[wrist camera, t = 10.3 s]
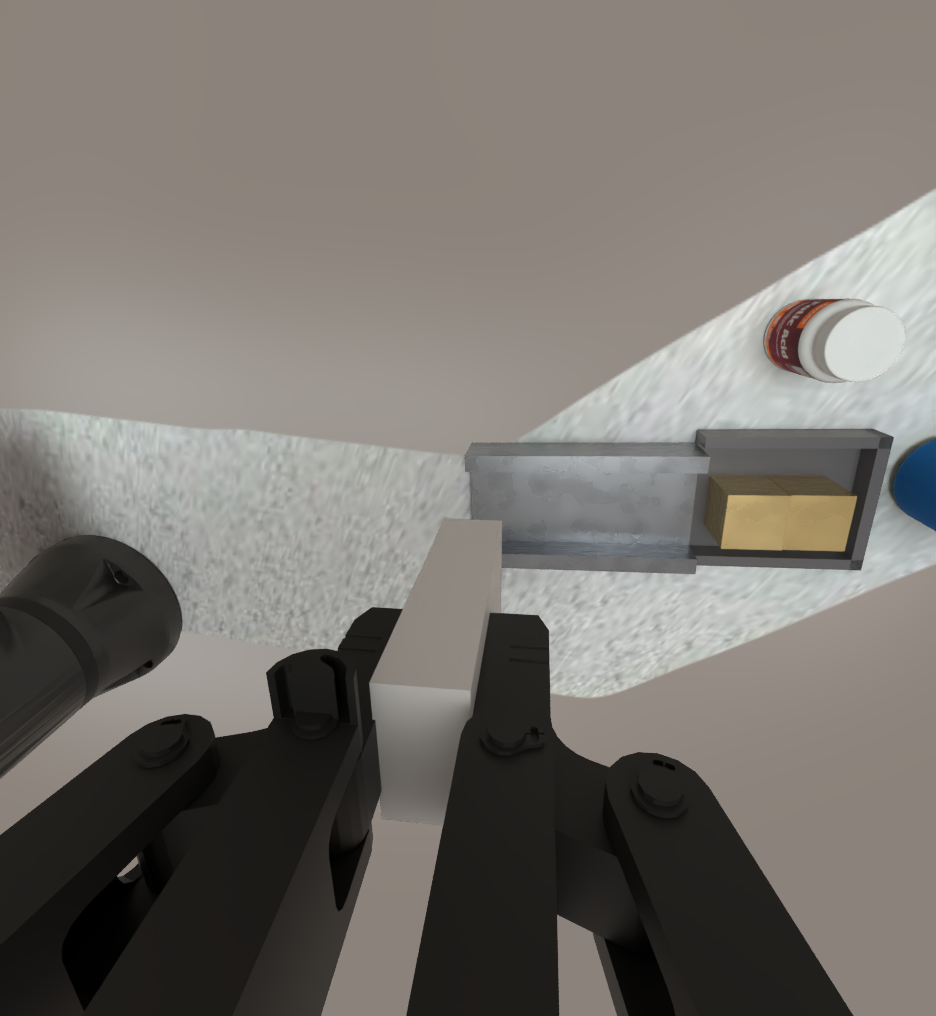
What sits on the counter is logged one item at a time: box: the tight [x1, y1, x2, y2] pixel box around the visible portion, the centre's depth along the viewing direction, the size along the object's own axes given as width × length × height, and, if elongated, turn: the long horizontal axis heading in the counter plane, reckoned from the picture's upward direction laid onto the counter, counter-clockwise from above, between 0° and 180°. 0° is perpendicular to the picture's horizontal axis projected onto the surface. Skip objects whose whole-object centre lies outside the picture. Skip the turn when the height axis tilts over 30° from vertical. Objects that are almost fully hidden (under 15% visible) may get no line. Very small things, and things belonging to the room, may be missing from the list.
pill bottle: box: [764, 299, 905, 383], centre depth 33 cm, size 5×5×8 cm
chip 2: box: [767, 475, 857, 551], centre depth 38 cm, size 4×4×4 cm
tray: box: [689, 429, 894, 570], centre depth 40 cm, size 12×10×2 cm
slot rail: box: [465, 443, 710, 574], centre depth 42 cm, size 17×9×4 cm, turn 91°
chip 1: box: [704, 476, 792, 550], centre depth 39 cm, size 4×4×4 cm
